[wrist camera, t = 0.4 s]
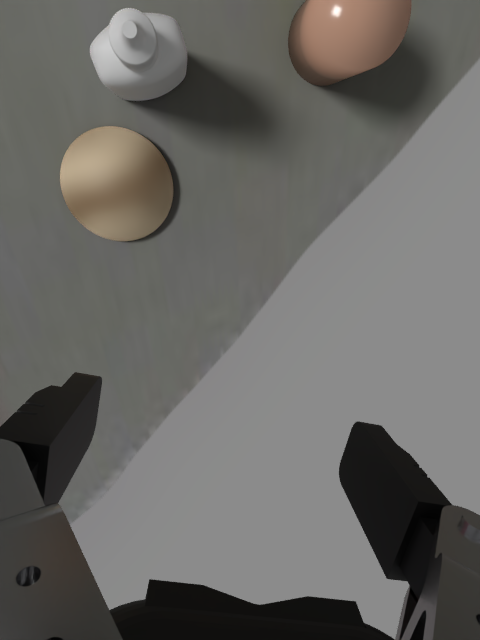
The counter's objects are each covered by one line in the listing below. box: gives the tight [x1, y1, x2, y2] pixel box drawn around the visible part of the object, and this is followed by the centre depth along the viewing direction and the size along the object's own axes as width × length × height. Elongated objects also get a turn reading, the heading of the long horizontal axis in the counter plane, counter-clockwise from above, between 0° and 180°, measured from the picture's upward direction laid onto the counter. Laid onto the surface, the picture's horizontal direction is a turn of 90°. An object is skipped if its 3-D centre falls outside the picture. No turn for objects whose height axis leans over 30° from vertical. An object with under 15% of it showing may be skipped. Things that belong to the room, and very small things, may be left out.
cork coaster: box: [60, 126, 173, 241], centre depth 31 cm, size 9×9×1 cm
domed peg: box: [288, 0, 411, 86], centre depth 26 cm, size 6×6×7 cm
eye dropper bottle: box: [90, 8, 187, 101], centre depth 23 cm, size 4×6×12 cm
